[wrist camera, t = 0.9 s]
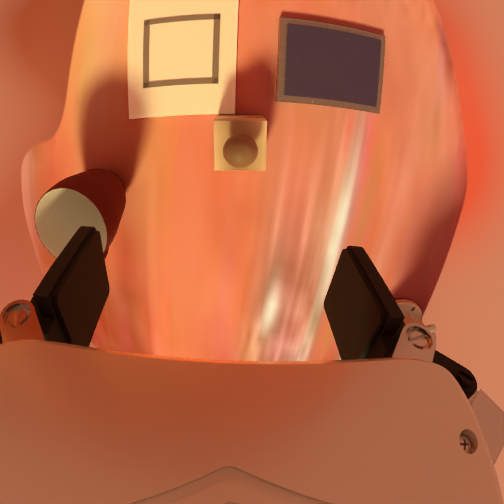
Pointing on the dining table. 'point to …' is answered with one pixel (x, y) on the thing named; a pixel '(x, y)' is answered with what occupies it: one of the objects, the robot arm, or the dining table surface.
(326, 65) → the ink pad
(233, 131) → the stamp
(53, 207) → the mug
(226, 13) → the card
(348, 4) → the dining table surface
